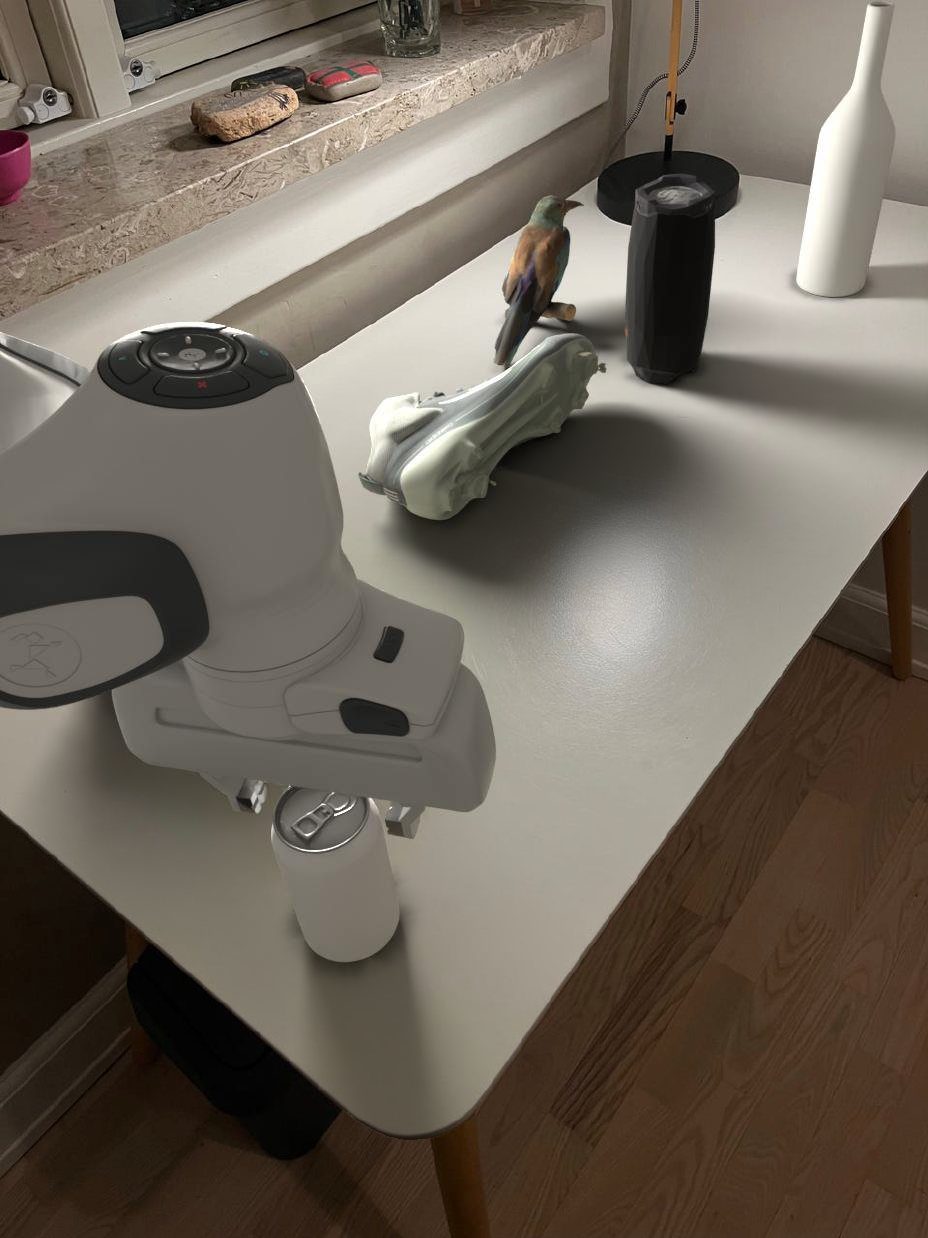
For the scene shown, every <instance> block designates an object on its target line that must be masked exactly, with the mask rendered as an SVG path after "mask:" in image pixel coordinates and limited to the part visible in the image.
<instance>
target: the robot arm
mask: <svg viewBox="0 0 928 1238" xmlns="http://www.w3.org/2000/svg"><path fill="white" fill-rule="evenodd" d="M343 531H344V509H343V503H342V499H341V494H340V489H339V486H338V480H337V476H336V471H335V468H334V464H333V461H332V457H331V453H330V448H329V446H328V442H327V438H326V435H325V432H324V429H323V426H322V423H321V420H320V416H319V413H318V411H317V408H316V406H315V404H314V401H313V398H312V396H311V394H310V391H309V390H308V387H307V384H306V383H305V381H304V380H303V378H302V377H301V375H300V374H299V372H298V371H297V369H296V368H295V367H294V365H293V364H292V363H291V361H289V359H288V358H287V357H286V356H285V355H284V354H283V353H282V352H281V351H280V350H279V349H278V348H276V347H274V346H273V345H272V344H271V343H269V342H268V341H265V340H264V339H262V338H260V337H258V336H257V335H254V334H251V333H249V332H246V331H244V330H243V331H242V330H240V329H237V328H231V327H227V326H226V325H223V324H217V323H209V322H198V321H197V322H196V321H195V322H194V321H193V322H192V321H190V322H189V321H188V322H171V323H164V324H158V325H154V326H150V327H146V328H142V329H140V330H137V331H133V332H131V333H129V334H126V335H124V336H121V337H120V338H118V339H117V340H115V341H113V342H112V343H111V344H110V345H108V346H107V347H106V348H105V349H104V350H103V351H102V352H101V353H100V354H99V355H98V358H97V359H96V362H95V364H94V365H93V368H92V370H90V369H88V368H87V367H86V366H84V365H82V364H81V363H79V362H78V361H75V360H73V359H72V358H69V357H67V356H66V355H63V354H61V353H58V352H56V351H54V350H51V349H48V348H45V347H43V346H40V345H38V344H35V343H31V342H30V341H29V342H28V341H26V340H24V339H21V338H18V337H15V336H12V335H9V334H7V333H4V332H2V331H0V708H3V709H9V710H21V711H22V710H23V711H33V710H34V711H36V710H47V709H54V708H59V707H63V706H68V705H72V704H75V703H78V702H79V703H80V702H82V701H85V700H88V699H91V698H94V697H96V696H99V695H102V694H104V693H107V692H111V698H112V703H113V708H114V711H115V715H116V719H117V722H118V726H119V728H120V732H121V735H122V737H123V740H124V743H125V745H126V747H127V749H128V750H129V751H130V752H131V754H133V755H134V756H136V757H137V758H138V759H140V760H141V761H142V762H144V763H146V764H148V765H152V766H157V767H165V768H172V769H178V770H184V771H191V772H198V773H199V775H200V777H201V778H203V779H204V780H205V781H207V782H208V783H209V784H210V785H211V786H213V787H214V788H216V789H217V790H218V791H219V792H221V793H222V794H223V795H225V796H227V799H228V800H229V803H230V806H231V808H232V810H233V811H235V812H243V813H244V812H245V813H251V814H259V813H260V812H261V809H262V804H263V803H264V802H265V801H266V798H267V796H268V795H267V794H268V788H267V785H266V784H264V783H270V784H277V785H282V786H288V787H289V786H295V787H302V788H308V789H315V790H322V791H328V792H335V793H341V794H348V795H354V796H361V797H368V798H371V799H375V800H382V801H389V802H390V803H389V805H390V808H389V809H387V812H386V814H385V818H384V824H385V827H386V828H387V831H386V832H387V835H389V836H395V837H400V838H405V839H411V840H413V839H415V837H416V834H417V832H418V828H419V825H420V822H421V815H422V814H423V813H424V812H425V811H426V808H434V809H440V810H447V811H453V812H457V813H470V812H473V811H474V810H476V809H478V808H479V807H480V806H481V805H483V804H484V802H485V801H486V799H487V796H488V793H489V790H490V788H491V787H490V786H491V783H492V779H493V775H494V772H495V767H496V762H497V761H496V759H497V745H496V737H495V731H494V725H493V720H492V716H491V712H490V708H489V705H488V701H487V698H486V694H485V691H484V689H483V687H482V684H481V683H480V680H479V679H478V678H477V676H476V675H475V674H474V672H473V671H472V670H471V669H470V668H469V667H468V666H466V665H465V664H464V663H462V658H463V653H464V645H465V630H464V627H463V625H462V623H461V622H460V621H459V620H458V619H457V618H455V617H453V616H451V615H450V614H446V613H443V612H441V611H438V610H435V609H432V608H429V607H426V606H423V605H421V604H418V603H415V602H412V601H409V600H407V599H404V598H402V597H400V596H397V595H394V594H392V593H391V592H388V591H385V590H384V589H381V588H379V587H377V586H375V585H373V584H371V583H370V582H367V581H366V580H363V579H361V578H359V577H357V575H356V573H355V569H354V567H353V565H352V563H351V562H350V560H349V558H348V556H347V555H346V553H345V552H344V550H343V547H342V537H343Z"/></svg>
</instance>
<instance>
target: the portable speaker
mask: <svg viewBox="0 0 928 1238" xmlns="http://www.w3.org/2000/svg"><path fill="white" fill-rule="evenodd" d="M716 193H717V192H716V191H715V190H713V189H712V188H711V187H710V186H709V185H708V184H707V183H705V182H704V181H703V180H702V179H700V178H699V177H698V176H697V175H693V174H689V173H688V174H687V173H673V174H672V173H671V174H662V176H660V177H659V178H656V179H654V180H652V181H649V182H648V183H646V184H644V185H642V186H640V187H638V188H635V196H634V197H635V198H634V205H633V206H634V207H633V212H632V213H633V214H632V220H631V227H630V233H629V240H628V244H627V245H628V246H627V265H626V283H625V284H626V285H625V286H626V287H625V304H624V305H625V307H624V321H625V324H624V325H625V329H624V335H625V340H626V342H625V344H626V359H627V361H628V363H629V364H630V366H631V368H632V369H633V372H634V374H635V377H637V378H639V379H641V380H642V381H645V382H647V383H653V384H665V385H666V384H667V385H668V384H669V383H670V382H672V380H674V379H675V378H676V377H678V376H680V375H682V374H684V373H687V372H690V371H693V372H696V371H698V370H699V366H700V358H701V356H702V352H703V346H704V340H705V335H706V331H707V324H708V319H709V311H710V301H711V292H712V281H713V273H714V272H713V271H714V262H715V253H716Z"/></svg>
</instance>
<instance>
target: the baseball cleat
mask: <svg viewBox="0 0 928 1238" xmlns="http://www.w3.org/2000/svg"><path fill="white" fill-rule="evenodd" d="M595 351H596V350H595V346H594V344H593V343H592V342H591V340H590V339H589V338H587V336H585V335H582V334H579V333H561V334H556V335H551V336H549V337H546V338H545V339H544V340H543V341H541V342H540V343H539V344H538V345H537V346H536V347H534V348H533V349H532V350H531V351H529V352H528V353H527V354H525V356H523V357H522V358H520V359H519V360H518V361H516V362H515V363H514V364H512V366H510V367H509V368H507V369H506V370H505V371H503V372H501V373H500V374H498V375H497V376H495V377H492V378H488V379H485V380H484V382H482V383H480V384H474V385H471V386H470V388H467V389H463V388H462V387H461V388H456V390H455V391H456V392H453V393H452V394H449V395H446V394H445V393H444V392H443V391H437V390H436V391H434V392H433V393H434V394H431V395H429V396H428V397H426V398H425V399H423V400H421V396H420V393H419V392H412V393H409V394H404V395H398V396H395V397H388V398H386V399H384V400H383V401H382V402H381V404H379V406H378V407H377V409H376V411H375V412H374V414H373V415H372V418H371V419H370V422H369V436H370V440H371V442H370V443H371V449H370V455H369V458H368V462H367V466H366V471H365V474H363V473H362V472H361V471H359V472H358V474H357V476H358V478H359V481H360V483H361V486H362V488H364V490H367V491H369V492H371V493H373V494H376V495H380V496H385V497H387V499H389V500H390V501H391V502H394V503H396V504H398V505H400V506H404V507H405V508H406V509H407V511H408V512H410V513H412V514H414V515H416V516H417V517H421V518H424V519H429V520H436V521H444V520H448V519H451V518H452V517H455V516H456V515H458V513H460V512H461V510H462V509H463V508H465V507H466V505H467V504H468V503H469V502H470V501H471V500H473V499H481V498H483V499H484V498H485V497H486V496H487V492H488V486H489V483H490V485H492V486H497V482H496V481H494V480H490V475H491V474H492V472H493V470H494V469H495V468H496V466H497V465H498V463H500V461H501V459H502V458H503V457H504V456H505V455H506V453H508V452H509V450H510V449H512V448H514V447H517V446H519V445H521V444H524V443H525V442H528V441H531V440H533V439H537V438H540V437H544V436H548V435H551V434H558V433H560V432H561V430H562V428H561V426H562V425H563V424H564V422H565V421H566V420H567V419H568V417H569V415H570V414H571V413H572V411H574V410H581V409H583V408H584V406H585V403H586V402H587V400H588V399H589V397H590V393H589V392H588V390H587V387H588V385H589V382H590V380H591V378H592V377H593V376H594V375H596V374H598V372H600V373H602V374H606V372H607V367H606V366H607V363H606V362H600V363H599V355H598V354H596V352H595Z"/></svg>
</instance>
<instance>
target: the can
mask: <svg viewBox="0 0 928 1238" xmlns="http://www.w3.org/2000/svg"><path fill="white" fill-rule="evenodd" d="M270 835H271V836H270V839H271V846H272V849H273V853H274V856H275V858H276V861H277V864H278V868H279V871H280V874H281V877H282V879H283V882H284V885H285V888H286V891H287V893H288V896H289V897H288V898H289V899H290V903H291V905H292V908H293V910H294V913H295V917H296V920H297V922H298V925H299V927H300V930H301V934H302V936H303V938H304V940H305V942H306V944H307V945H308V946H309V948H310V949H311V950H312V951H313V952H314V953H316V954H317V955H318V956H320V957H322V958H323V959H326V960H328V961H332V962H336V963H337V962H338V963H353V962H357V961H361V960H364V959H366V958H370V957H371V956H373V955H375V954H376V953H378V952H380V950H382V949H383V948H384V947H385V946H386V945H388V943H389V942H390V940H391V939H392V938H393V936H394V935H395V932H396V930H397V928H398V925H399V922H400V921H399V920H400V902H399V897H398V893H397V887H396V882H395V878H394V873H393V868H392V864H391V859H390V854H389V850H388V845H387V841H386V836H385V831H384V827H383V823H382V818H381V815H380V811H379V808H378V807H377V805H376V803H375V800H373V798H368V797H361V796H354V795H348V794H341V793H335V792H328V791H322V790H315V789H308V788H302V787H295V786H289V785H288V787H287V788H286V789H284V791H283V792H282V793H281V794H280V796H279V797H278V799H277V801H276V803H275V805H274V808H273V812H272V825H271V830H270Z"/></svg>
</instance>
